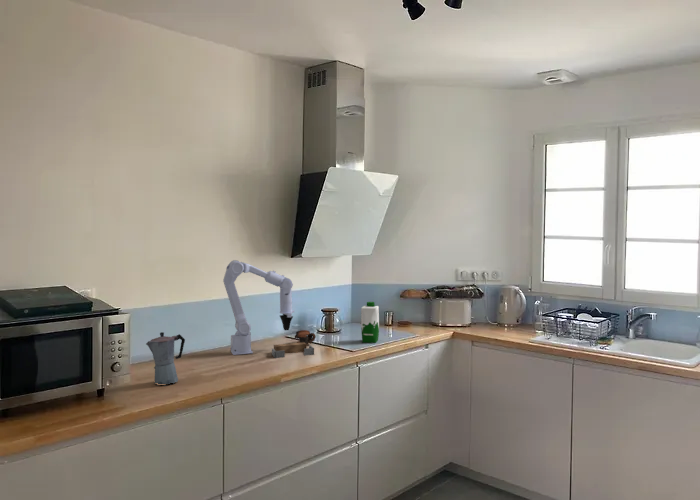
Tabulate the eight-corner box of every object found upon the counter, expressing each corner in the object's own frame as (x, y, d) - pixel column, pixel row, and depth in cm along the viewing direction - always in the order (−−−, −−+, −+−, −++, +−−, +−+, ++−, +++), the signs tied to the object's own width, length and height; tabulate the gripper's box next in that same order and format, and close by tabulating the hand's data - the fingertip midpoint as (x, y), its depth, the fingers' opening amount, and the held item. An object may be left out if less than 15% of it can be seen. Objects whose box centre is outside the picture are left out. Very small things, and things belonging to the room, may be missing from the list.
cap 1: (274, 358, 261) (274, 351, 261) (271, 354, 268) (271, 348, 268) (284, 357, 263) (284, 350, 263) (281, 354, 269) (281, 347, 269)
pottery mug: (291, 347, 287) (290, 331, 290) (300, 351, 294) (299, 336, 298) (312, 342, 282) (311, 326, 286) (321, 347, 290) (320, 331, 294)
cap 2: (304, 355, 266) (304, 348, 266) (301, 352, 272) (300, 346, 272) (314, 354, 268) (313, 348, 267) (310, 351, 274) (310, 345, 274)
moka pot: (142, 384, 222) (140, 333, 221) (179, 376, 232) (177, 327, 231) (153, 389, 215) (152, 336, 214) (190, 380, 226) (189, 330, 225)
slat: (275, 355, 269) (275, 346, 269) (273, 353, 273) (273, 344, 272) (306, 352, 274) (306, 343, 273) (304, 350, 277) (304, 342, 277)
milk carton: (380, 340, 298) (379, 301, 297) (376, 343, 289) (376, 304, 288) (363, 339, 300) (363, 301, 299) (360, 342, 291) (359, 303, 290)
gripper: (297, 303, 273) (298, 331, 274) (290, 299, 287) (290, 326, 287) (283, 304, 271) (283, 333, 271) (276, 300, 284) (277, 327, 285)
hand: (286, 329), depth 279 cm, fingers closed
